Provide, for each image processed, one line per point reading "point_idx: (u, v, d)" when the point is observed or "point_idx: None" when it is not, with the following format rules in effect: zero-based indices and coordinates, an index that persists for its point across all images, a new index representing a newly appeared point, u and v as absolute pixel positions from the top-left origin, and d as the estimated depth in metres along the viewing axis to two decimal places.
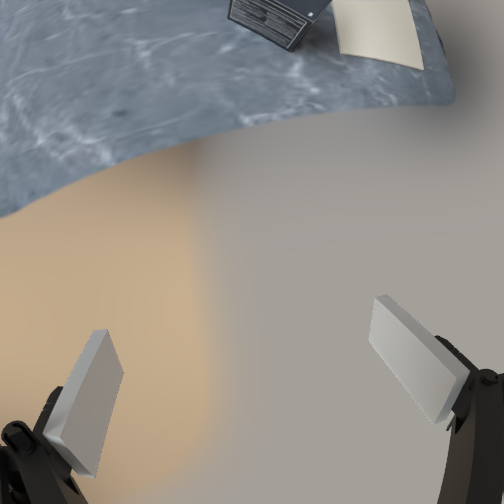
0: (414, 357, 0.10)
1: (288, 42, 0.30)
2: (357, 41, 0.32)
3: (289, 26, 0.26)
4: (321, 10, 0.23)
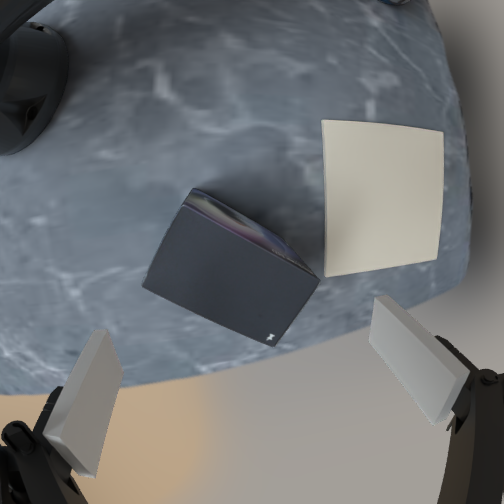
0: (414, 357, 0.10)
1: None
2: (353, 251, 0.30)
3: None
4: (289, 323, 0.20)
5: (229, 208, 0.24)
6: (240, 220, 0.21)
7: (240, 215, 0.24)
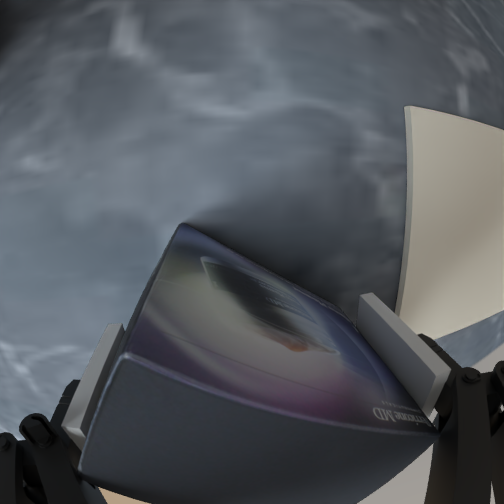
0: (396, 354, 0.10)
1: None
2: (431, 314, 0.17)
3: None
4: None
5: (254, 272, 0.12)
6: (288, 322, 0.09)
7: (278, 289, 0.11)
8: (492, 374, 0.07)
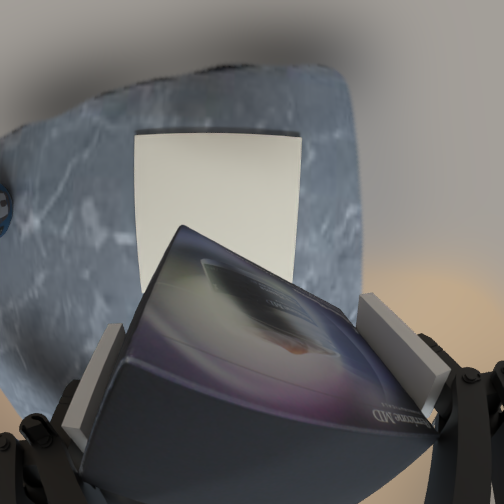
0: (396, 354, 0.10)
1: None
2: (269, 264, 0.30)
3: None
4: (369, 495, 0.07)
5: (254, 274, 0.12)
6: (289, 324, 0.09)
7: (278, 291, 0.11)
8: (492, 374, 0.07)
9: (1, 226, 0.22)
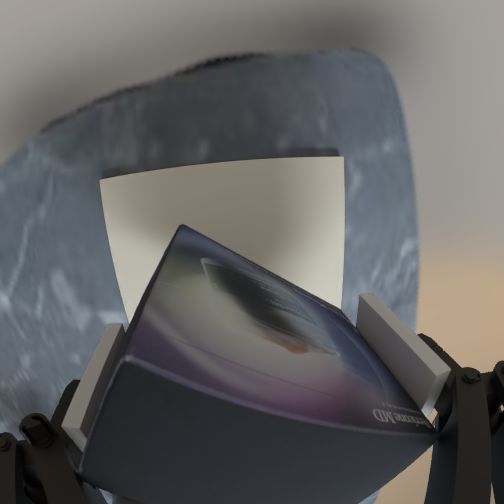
0: (396, 354, 0.10)
1: None
2: None
3: None
4: (369, 495, 0.07)
5: (254, 274, 0.12)
6: (289, 323, 0.09)
7: (278, 290, 0.11)
8: (492, 374, 0.07)
9: None
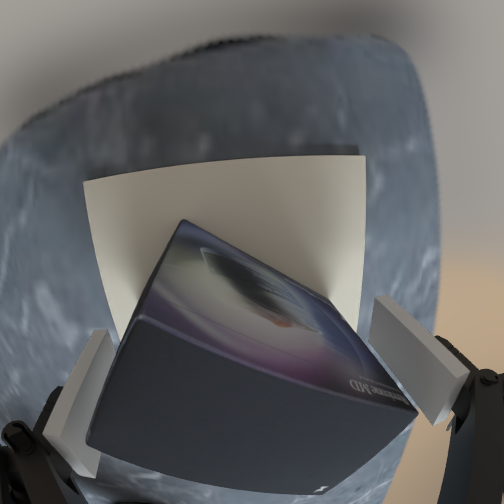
0: (414, 357, 0.10)
1: None
2: None
3: None
4: (354, 471, 0.09)
5: (248, 263, 0.13)
6: (276, 304, 0.10)
7: (269, 278, 0.13)
8: None
9: None
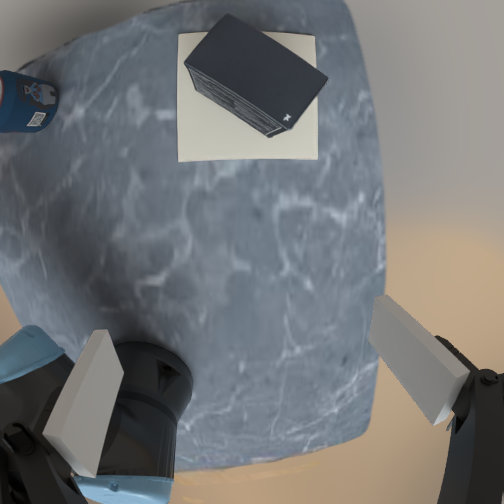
0: (414, 357, 0.10)
1: (265, 131, 0.28)
2: (296, 132, 0.31)
3: (262, 122, 0.24)
4: (304, 108, 0.21)
5: None
6: None
7: None
8: None
9: (47, 112, 0.25)
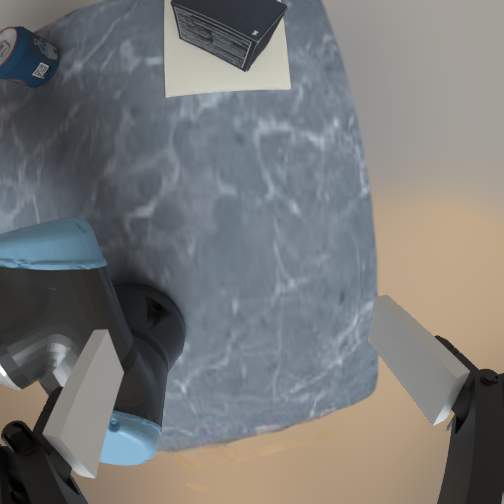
0: (414, 357, 0.10)
1: (241, 62, 0.29)
2: (269, 67, 0.32)
3: (236, 47, 0.25)
4: (268, 26, 0.22)
5: None
6: None
7: None
8: None
9: (50, 66, 0.25)
